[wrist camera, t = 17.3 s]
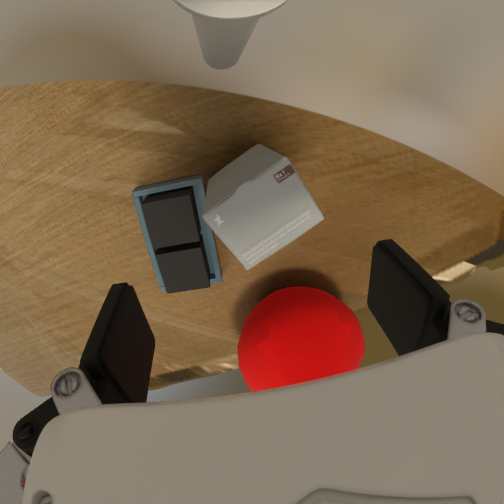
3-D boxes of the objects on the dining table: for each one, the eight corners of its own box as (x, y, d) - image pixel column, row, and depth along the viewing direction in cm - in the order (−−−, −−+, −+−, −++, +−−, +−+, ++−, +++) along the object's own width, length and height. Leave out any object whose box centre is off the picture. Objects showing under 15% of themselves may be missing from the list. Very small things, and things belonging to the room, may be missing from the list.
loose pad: (147, 194, 36) (140, 204, 33) (192, 185, 36) (190, 194, 33) (158, 235, 39) (153, 249, 35) (201, 228, 39) (199, 241, 36)
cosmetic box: (235, 215, 39) (247, 281, 26) (203, 173, 36) (194, 219, 22) (288, 179, 38) (331, 227, 24) (258, 135, 35) (287, 155, 21)
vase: (342, 255, 44) (449, 416, 18) (338, 338, 53) (398, 476, 27) (223, 277, 44) (241, 481, 18) (243, 357, 53) (265, 512, 26)
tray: (135, 187, 36) (131, 192, 34) (202, 174, 36) (202, 177, 35) (163, 283, 43) (161, 291, 41) (222, 274, 44) (222, 282, 42)
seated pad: (159, 241, 39) (154, 255, 36) (202, 233, 40) (200, 247, 36) (170, 277, 42) (167, 293, 39) (210, 271, 42) (210, 287, 39)
